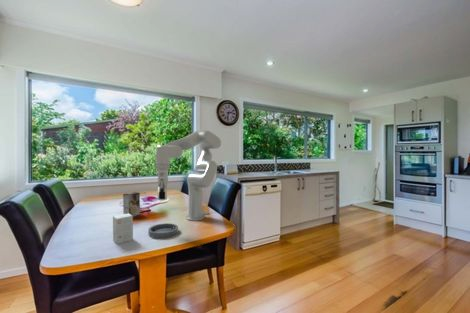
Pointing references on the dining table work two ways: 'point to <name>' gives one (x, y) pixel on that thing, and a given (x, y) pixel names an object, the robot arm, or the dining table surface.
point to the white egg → (165, 194)
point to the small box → (122, 228)
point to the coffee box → (131, 203)
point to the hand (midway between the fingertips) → (162, 197)
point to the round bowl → (163, 230)
